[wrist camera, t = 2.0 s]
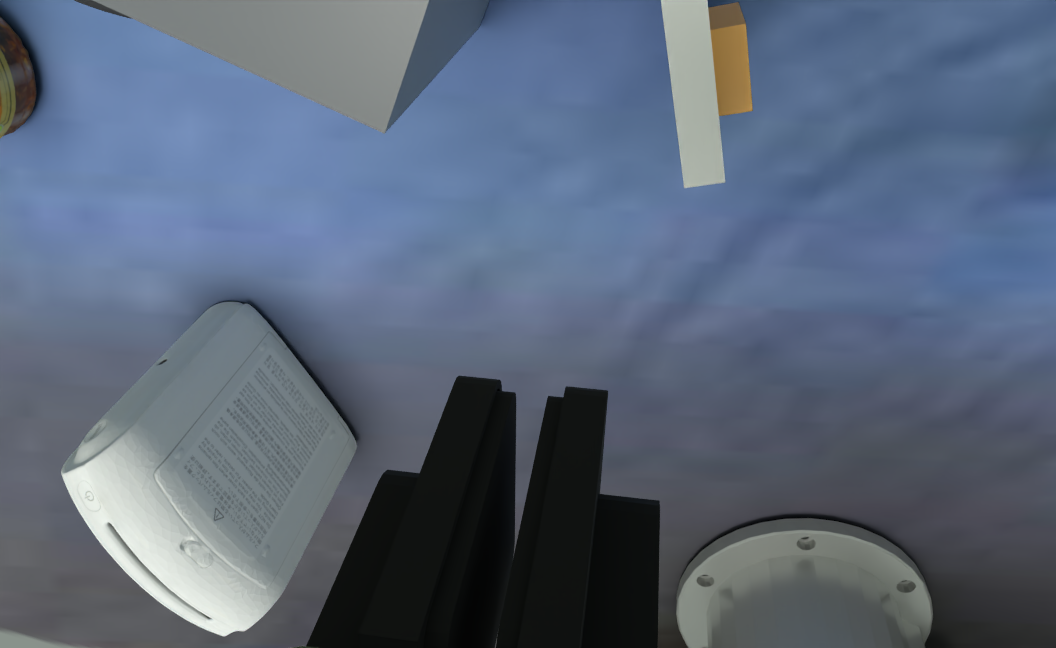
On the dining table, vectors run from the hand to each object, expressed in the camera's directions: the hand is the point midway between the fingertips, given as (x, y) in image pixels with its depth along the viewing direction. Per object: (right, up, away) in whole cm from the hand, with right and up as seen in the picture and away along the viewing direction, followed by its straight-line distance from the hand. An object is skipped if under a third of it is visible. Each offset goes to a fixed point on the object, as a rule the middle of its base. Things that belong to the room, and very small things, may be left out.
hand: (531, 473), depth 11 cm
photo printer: (-12, -1, +30) cm, 33 cm away
